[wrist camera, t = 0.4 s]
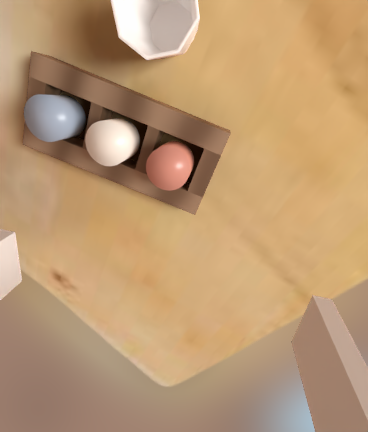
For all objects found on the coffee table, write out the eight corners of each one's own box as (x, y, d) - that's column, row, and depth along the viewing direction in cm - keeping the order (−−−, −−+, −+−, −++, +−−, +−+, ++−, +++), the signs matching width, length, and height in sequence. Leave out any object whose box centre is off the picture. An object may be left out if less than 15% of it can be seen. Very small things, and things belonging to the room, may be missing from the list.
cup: (164, 85, 29) (143, 79, 22) (110, -10, 26) (65, -52, 19) (220, 43, 27) (218, 22, 19) (168, -65, 24) (142, -137, 17)
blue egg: (46, 128, 30) (22, 132, 27) (51, 88, 28) (26, 87, 25) (81, 143, 30) (62, 148, 27) (89, 104, 29) (69, 104, 25)
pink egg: (150, 171, 31) (140, 180, 27) (162, 134, 29) (153, 139, 25) (185, 185, 31) (180, 197, 27) (200, 150, 29) (196, 157, 25)
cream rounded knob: (98, 149, 30) (81, 156, 27) (107, 111, 29) (89, 113, 25) (134, 164, 31) (121, 172, 27) (144, 127, 29) (132, 131, 25)
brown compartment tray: (39, 141, 34) (22, 144, 31) (49, 55, 30) (31, 51, 27) (197, 205, 34) (194, 214, 31) (230, 130, 30) (230, 133, 27)
